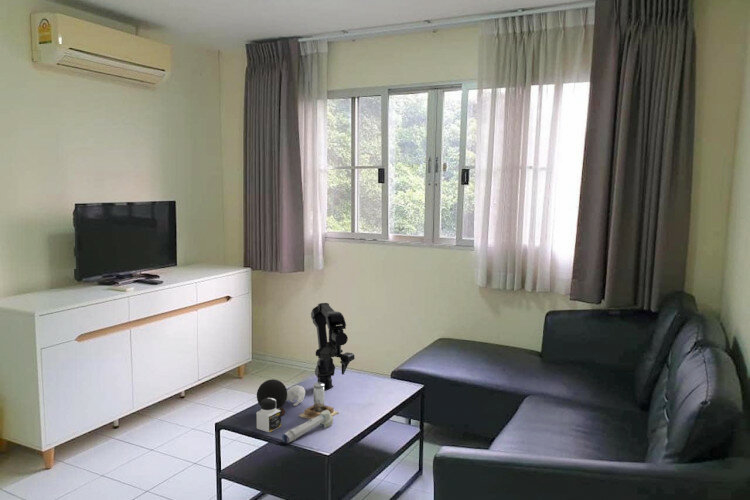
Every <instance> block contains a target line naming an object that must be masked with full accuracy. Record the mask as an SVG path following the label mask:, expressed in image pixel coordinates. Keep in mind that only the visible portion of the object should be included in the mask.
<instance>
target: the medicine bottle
mask: <svg viewBox="0 0 750 500" xmlns="http://www.w3.org/2000/svg"><path fill="white" fill-rule="evenodd" d="M281 426H282V417H281V410H278V409H276V400H275V399H273V398H265V399H263V400H262V401H261V406H260V410H258V411H257V412H256V429H257V430H260V431H263V432H266V433H271V432H274V431H275V430H277V429H279V428H280V427H281Z"/></svg>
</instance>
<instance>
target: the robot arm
mask: <svg viewBox="0 0 750 500" xmlns="http://www.w3.org/2000/svg"><path fill="white" fill-rule="evenodd" d="M310 318H311V320H312V323H313V325H314V326H315V328H316V332H317V334H316V335H317V343H318V349H316V351H315V356H316V357H317V358H318V360H317V362H316V366H315V370H314V375H315V376H316V378H317V382H322V383H324V391H328V390H329V389H332V388H334V385H333V379H332V376H333V377H334V376H335V370H336V366H335V364H334V360H333V358H334V357H335V358H339V360H340V364H341V375H344V374H345V373H346V370H347V369H348V366H349V364H350V362H352V361H353V360H355V354H354V353H353V352H349V351H347V352H345V353H343V349H342V346H344V345H346V344H347V343H348V338H349V337H348V335H347V333H345V332H344V330H346V329H347V328H346V327H347V323H346V319H345V317H344V315H343V314H342V313H341V312H340V311H336V310H334V309H333V308H332V306H331V305H330V303H328V302H320V303H318V304H317V305H316V306H314V307H313V308H312V310H311V312H310ZM327 329H328V335H327Z"/></svg>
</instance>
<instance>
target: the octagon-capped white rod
mask: <svg viewBox="0 0 750 500" xmlns="http://www.w3.org/2000/svg"><path fill="white" fill-rule="evenodd" d="M333 420H334V416H331V414H330V411H328V410H325V411H323V412H321V415H319V416H317V417H315V418H313V419H311V420H309V419H308V421H305V422H304V423H302V424H300V425H297V426H296V427H294V428H292V429H288V431H286V432H285V433H283V434H282V435H281V440H282V442H283V443H285V444H286V445H287V444H290V443H291V442H295V441H296V439H298V438H300V437H301V436H302V435H304V434H306V433H307V432H309V431H311V430H312V429H314V428H315V427H317V426H318V425H320V427H321V428H325V429H326V428H330V427H332V425H333V424H334V421H333Z"/></svg>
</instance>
